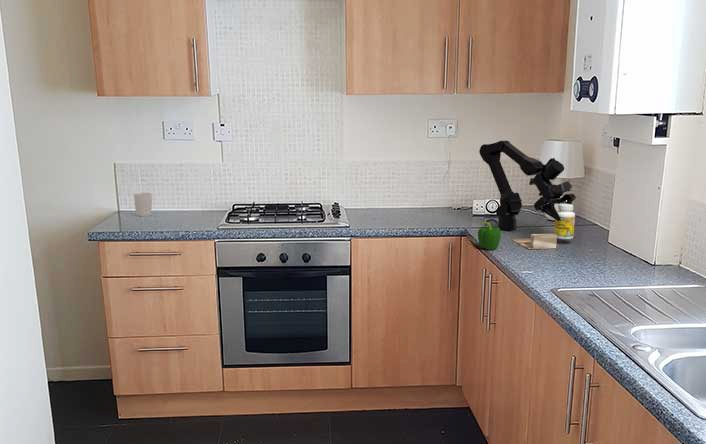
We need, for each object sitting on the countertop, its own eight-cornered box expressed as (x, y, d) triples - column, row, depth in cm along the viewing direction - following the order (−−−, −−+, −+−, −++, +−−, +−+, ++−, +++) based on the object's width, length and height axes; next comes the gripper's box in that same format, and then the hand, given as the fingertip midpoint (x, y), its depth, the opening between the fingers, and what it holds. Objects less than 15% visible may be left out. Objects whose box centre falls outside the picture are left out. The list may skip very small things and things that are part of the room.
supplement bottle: (574, 236, 238) (577, 204, 236) (571, 240, 232) (574, 207, 230) (555, 234, 242) (558, 202, 239) (551, 238, 236) (554, 205, 233)
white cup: (131, 216, 285) (130, 194, 283) (141, 213, 292) (140, 192, 290) (146, 217, 282) (144, 195, 280) (156, 214, 290) (154, 193, 288)
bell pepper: (505, 249, 228) (506, 222, 226) (491, 252, 222) (493, 225, 220) (486, 244, 234) (487, 219, 232) (473, 248, 228) (474, 222, 226)
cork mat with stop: (511, 240, 242) (512, 226, 241) (540, 239, 243) (541, 226, 242) (529, 250, 226) (530, 235, 225) (559, 249, 228) (560, 235, 227)
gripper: (542, 176, 231) (563, 209, 224) (574, 173, 241) (595, 205, 234) (524, 193, 239) (545, 226, 232) (556, 190, 249) (576, 221, 242)
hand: (566, 219), depth 235 cm, fingers closed on supplement bottle, 7 cm apart
